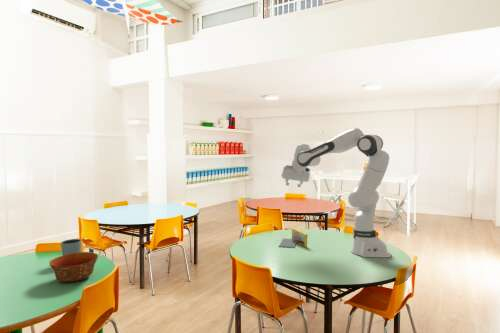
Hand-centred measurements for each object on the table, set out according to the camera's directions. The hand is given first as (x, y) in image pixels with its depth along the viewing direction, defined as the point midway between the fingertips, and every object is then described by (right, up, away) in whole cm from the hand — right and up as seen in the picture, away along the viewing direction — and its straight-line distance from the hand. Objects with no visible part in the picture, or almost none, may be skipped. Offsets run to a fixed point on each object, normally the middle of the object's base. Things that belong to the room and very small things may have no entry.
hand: (292, 186), depth 226 cm
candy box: (+3, -38, -7) cm, 39 cm away
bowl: (-115, -41, -67) cm, 139 cm away
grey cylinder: (-130, -41, -42) cm, 143 cm away
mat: (-4, -38, -5) cm, 39 cm away
